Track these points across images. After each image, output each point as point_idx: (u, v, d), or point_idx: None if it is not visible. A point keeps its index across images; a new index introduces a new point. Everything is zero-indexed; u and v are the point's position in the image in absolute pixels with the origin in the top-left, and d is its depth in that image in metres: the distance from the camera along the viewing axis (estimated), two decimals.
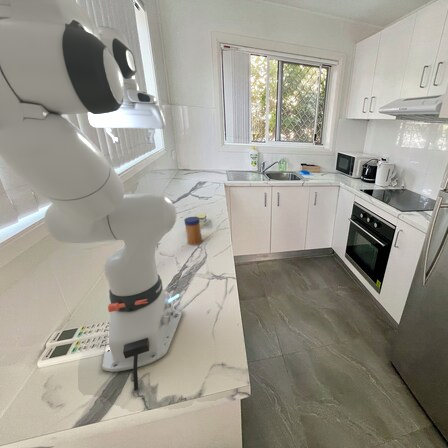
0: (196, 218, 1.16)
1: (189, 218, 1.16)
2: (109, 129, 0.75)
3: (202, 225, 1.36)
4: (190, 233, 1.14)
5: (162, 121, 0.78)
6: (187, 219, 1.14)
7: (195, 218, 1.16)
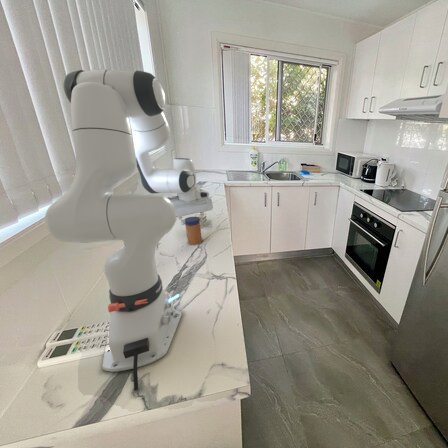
0: (196, 218, 1.16)
1: (189, 218, 1.16)
2: (180, 217, 1.10)
3: (202, 225, 1.36)
4: (190, 233, 1.14)
5: (212, 205, 1.17)
6: (187, 219, 1.14)
7: (195, 218, 1.16)
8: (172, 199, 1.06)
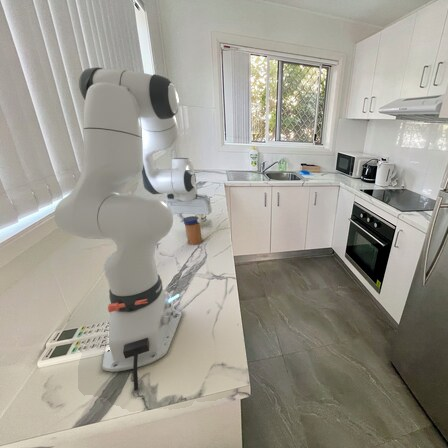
0: (187, 218, 1.15)
1: (190, 219, 1.14)
2: None
3: (202, 225, 1.36)
4: (189, 232, 1.14)
5: None
6: (193, 219, 1.14)
7: (187, 218, 1.15)
8: None
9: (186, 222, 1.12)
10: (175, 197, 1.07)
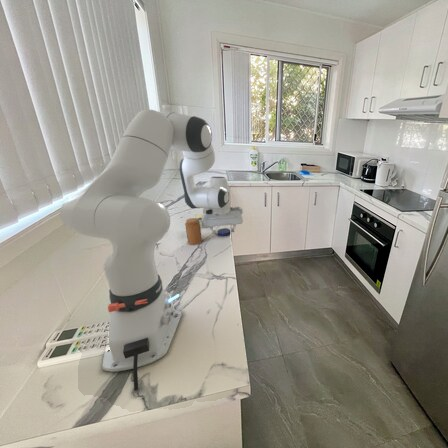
0: (219, 230, 1.28)
1: (225, 231, 1.27)
2: None
3: None
4: (190, 233, 1.14)
5: None
6: (227, 230, 1.28)
7: (220, 231, 1.28)
8: None
9: (223, 234, 1.25)
10: (214, 212, 1.19)
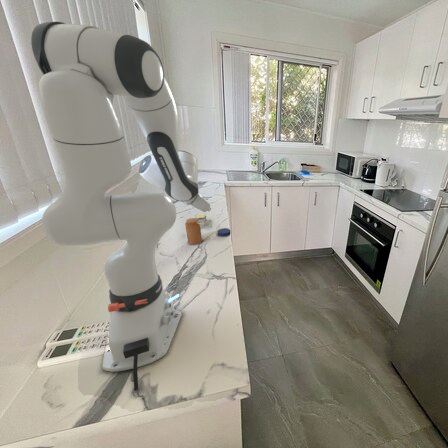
0: (219, 230, 1.28)
1: (225, 231, 1.27)
2: None
3: (202, 225, 1.36)
4: (190, 233, 1.14)
5: (201, 210, 0.95)
6: (227, 230, 1.28)
7: (220, 231, 1.28)
8: None
9: (223, 234, 1.25)
10: None
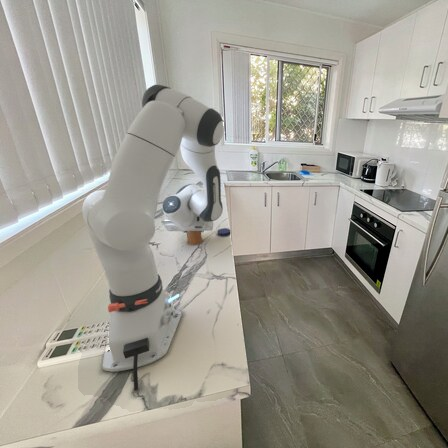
0: (219, 230, 1.28)
1: (225, 231, 1.27)
2: None
3: None
4: (190, 233, 1.14)
5: (211, 229, 1.12)
6: (227, 230, 1.28)
7: (220, 231, 1.28)
8: (169, 222, 1.05)
9: (223, 234, 1.25)
10: None
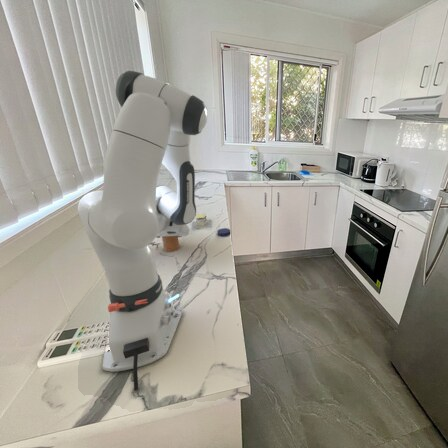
0: (219, 230, 1.28)
1: (225, 231, 1.27)
2: None
3: (202, 225, 1.36)
4: (165, 239, 1.08)
5: (186, 234, 1.05)
6: (227, 230, 1.28)
7: (220, 231, 1.28)
8: None
9: (223, 234, 1.25)
10: None
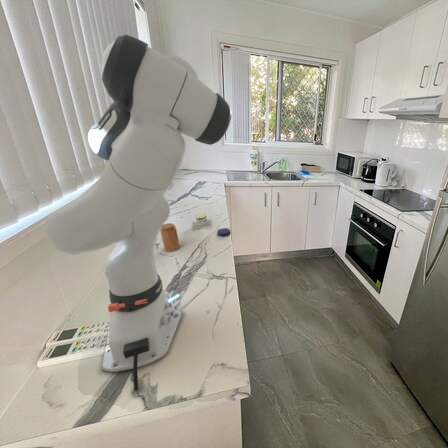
0: (219, 230, 1.28)
1: (225, 231, 1.27)
2: None
3: (202, 225, 1.36)
4: (165, 239, 1.08)
5: None
6: (227, 230, 1.28)
7: (220, 231, 1.28)
8: None
9: (223, 234, 1.25)
10: None
